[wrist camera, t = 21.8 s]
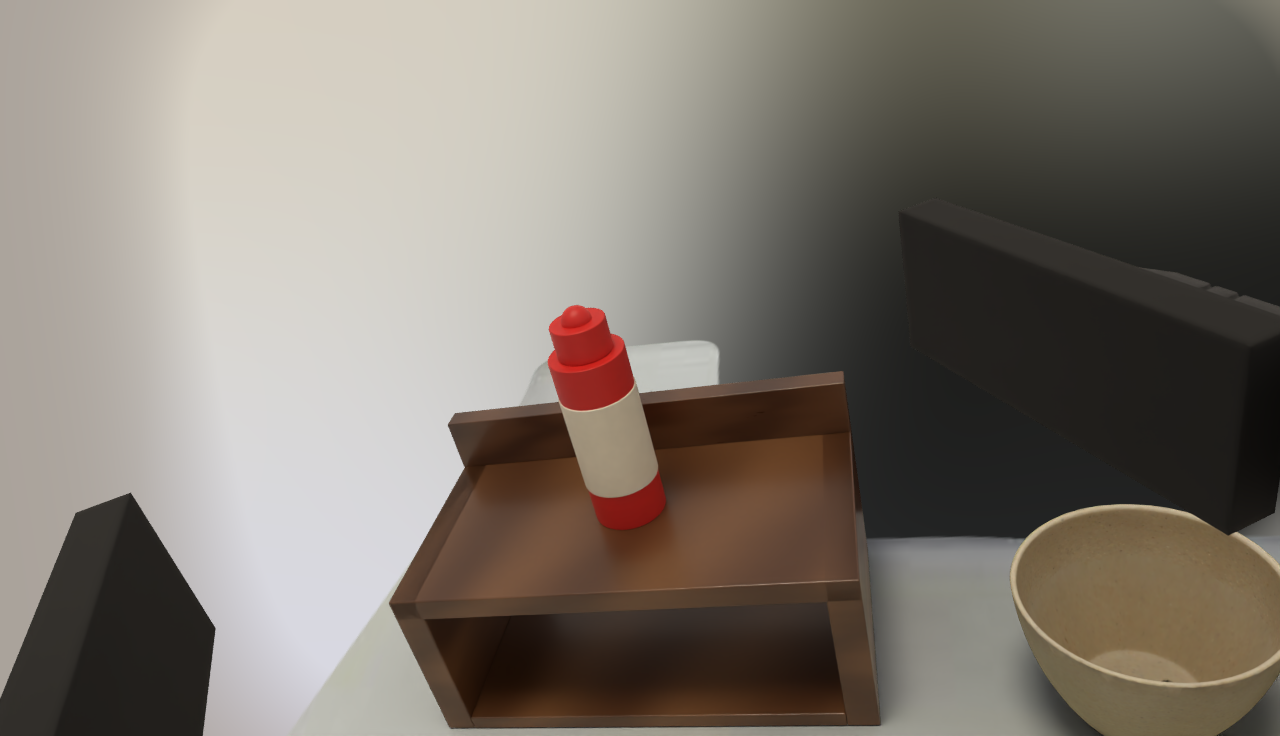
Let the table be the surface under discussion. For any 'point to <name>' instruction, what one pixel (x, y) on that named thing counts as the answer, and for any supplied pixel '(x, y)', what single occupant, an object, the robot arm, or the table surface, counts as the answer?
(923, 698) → the table surface
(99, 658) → the robot arm
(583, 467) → the red cream bottle
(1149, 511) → the beige bowl
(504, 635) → the shelf
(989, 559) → the table surface
